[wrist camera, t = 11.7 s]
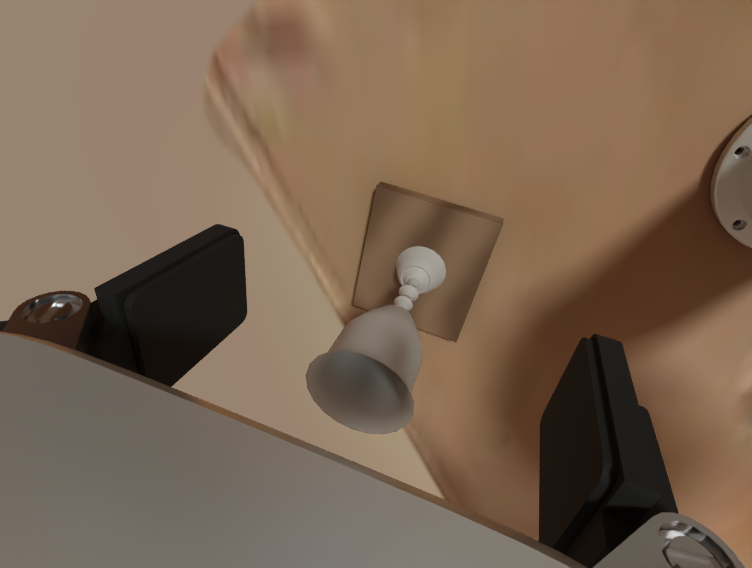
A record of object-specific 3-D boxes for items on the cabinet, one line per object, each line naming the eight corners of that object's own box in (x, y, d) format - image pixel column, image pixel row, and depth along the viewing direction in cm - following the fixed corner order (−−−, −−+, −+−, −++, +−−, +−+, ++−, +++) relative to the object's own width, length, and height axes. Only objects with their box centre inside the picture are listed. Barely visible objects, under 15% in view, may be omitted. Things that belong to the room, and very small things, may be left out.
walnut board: (503, 218, 37) (502, 224, 36) (458, 334, 45) (456, 342, 44) (381, 181, 39) (376, 186, 38) (357, 298, 47) (352, 305, 46)
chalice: (465, 249, 38) (424, 375, 23) (447, 307, 42) (403, 448, 27) (391, 229, 40) (308, 335, 25) (380, 287, 43) (303, 410, 28)
